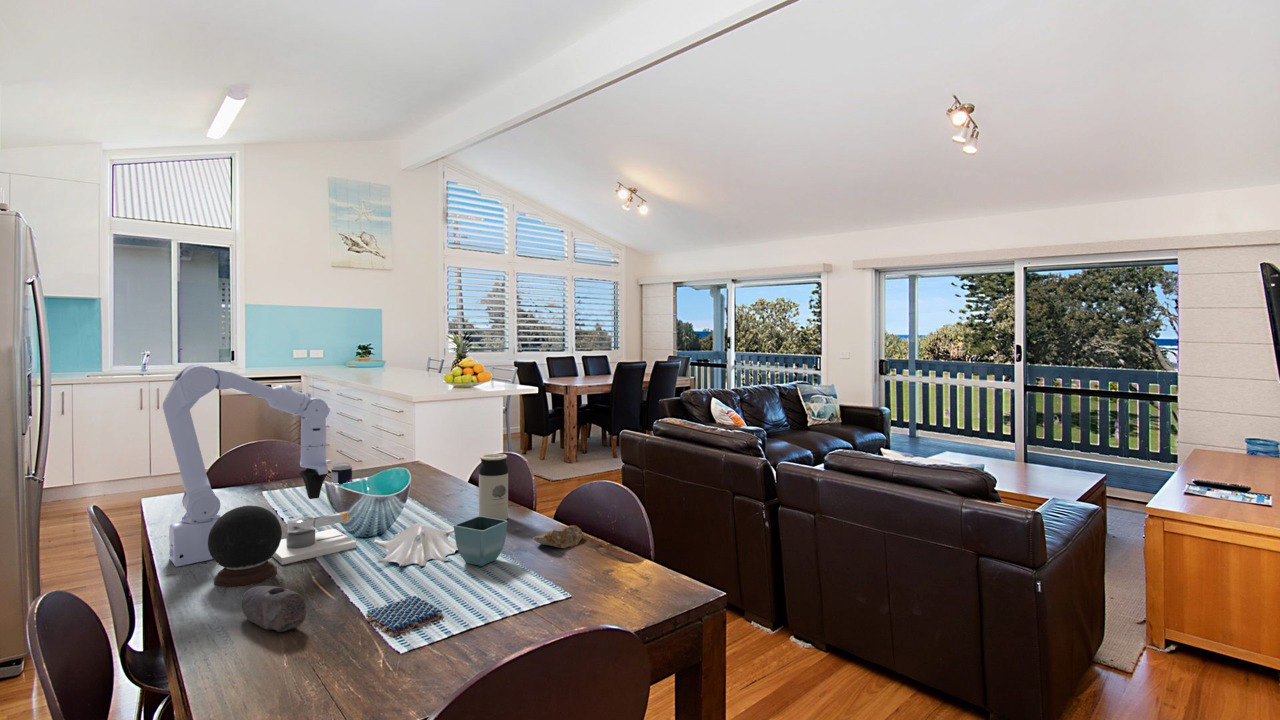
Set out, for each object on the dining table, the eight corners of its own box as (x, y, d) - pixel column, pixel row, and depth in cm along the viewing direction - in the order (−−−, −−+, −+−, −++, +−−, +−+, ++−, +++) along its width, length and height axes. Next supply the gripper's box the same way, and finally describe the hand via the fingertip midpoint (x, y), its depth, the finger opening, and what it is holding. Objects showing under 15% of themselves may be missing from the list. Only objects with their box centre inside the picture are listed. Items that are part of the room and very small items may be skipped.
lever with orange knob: (292, 535, 142) (292, 525, 141) (283, 530, 145) (283, 520, 145) (353, 523, 152) (353, 513, 152) (343, 518, 155) (343, 509, 155)
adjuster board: (282, 564, 136) (282, 544, 136) (263, 549, 146) (263, 530, 146) (356, 547, 148) (355, 529, 148) (334, 534, 158) (334, 517, 158)
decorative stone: (524, 528, 149) (561, 520, 162) (523, 547, 148) (560, 537, 161) (555, 534, 144) (591, 525, 157) (554, 553, 144) (590, 543, 157)
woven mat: (415, 602, 119) (415, 592, 119) (445, 619, 112) (445, 608, 112) (362, 621, 111) (362, 610, 111) (390, 641, 104) (390, 629, 104)
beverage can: (346, 506, 184) (346, 466, 184) (327, 505, 184) (327, 466, 184) (355, 501, 190) (355, 462, 189) (337, 500, 190) (337, 462, 189)
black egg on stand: (296, 569, 134) (296, 501, 134) (242, 592, 121) (242, 518, 121) (249, 562, 138) (248, 496, 137) (192, 585, 125) (191, 512, 124)
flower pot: (452, 564, 138) (452, 524, 138) (479, 552, 146) (479, 515, 145) (482, 571, 134) (482, 530, 134) (508, 559, 142) (508, 520, 141)
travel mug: (476, 517, 174) (476, 454, 174) (504, 514, 177) (504, 452, 177) (481, 525, 167) (481, 459, 166) (510, 521, 170) (511, 457, 170)
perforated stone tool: (230, 621, 109) (229, 583, 109) (260, 610, 114) (259, 573, 114) (279, 642, 102) (279, 601, 102) (309, 629, 107) (309, 590, 107)
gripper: (340, 446, 153) (340, 500, 154) (320, 439, 163) (320, 490, 164) (310, 450, 148) (310, 505, 149) (291, 442, 158) (291, 494, 159)
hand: (313, 498), depth 156 cm, fingers closed
